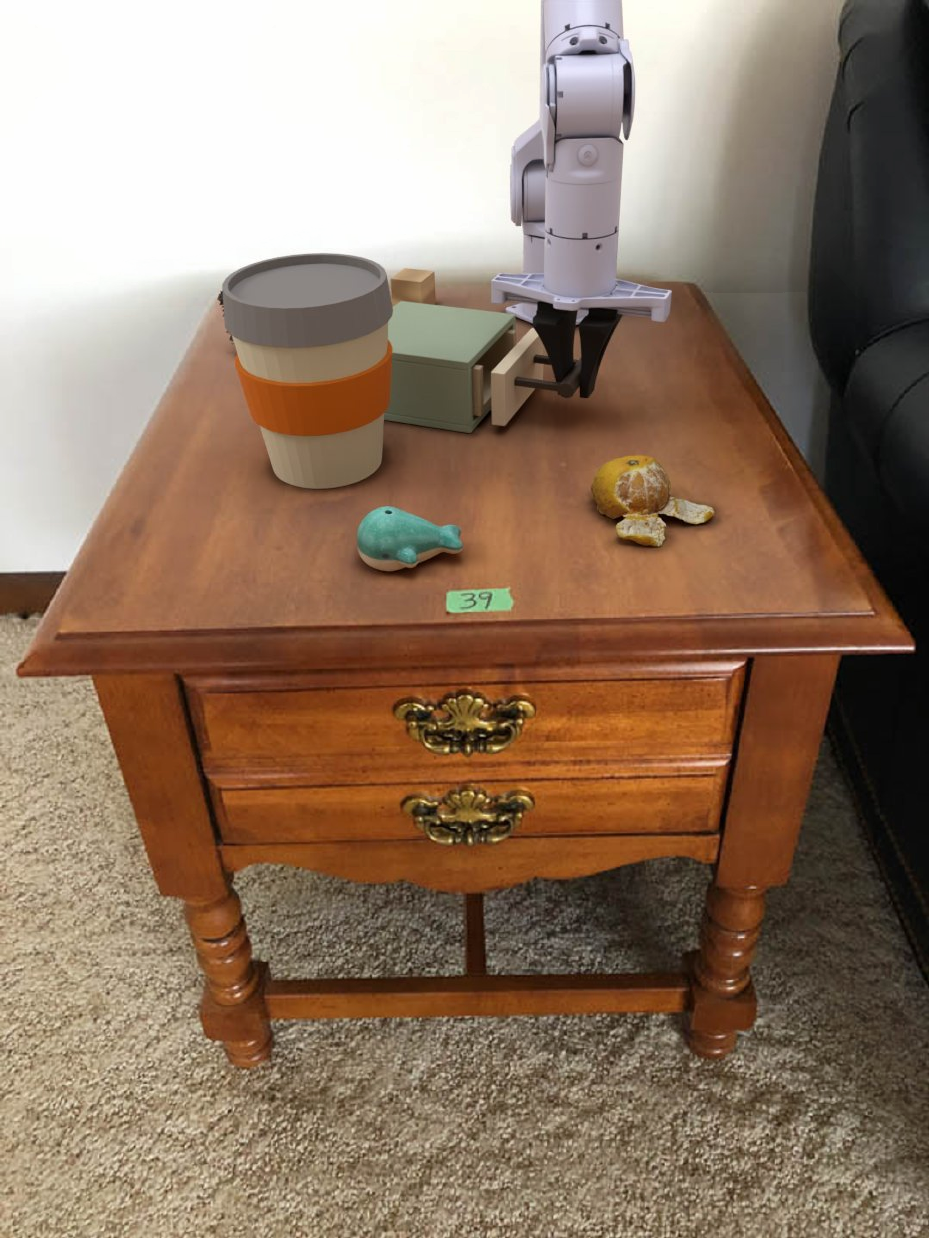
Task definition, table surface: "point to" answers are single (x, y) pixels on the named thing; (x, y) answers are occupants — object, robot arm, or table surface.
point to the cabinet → (439, 362)
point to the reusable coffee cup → (314, 362)
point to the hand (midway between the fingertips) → (575, 392)
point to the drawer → (514, 376)
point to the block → (413, 286)
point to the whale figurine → (403, 539)
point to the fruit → (641, 499)
